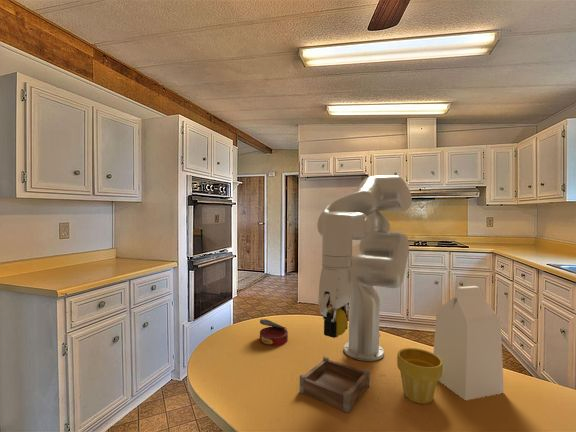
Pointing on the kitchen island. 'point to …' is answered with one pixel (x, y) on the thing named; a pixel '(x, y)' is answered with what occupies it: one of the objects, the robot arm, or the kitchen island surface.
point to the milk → (469, 345)
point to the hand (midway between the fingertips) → (335, 331)
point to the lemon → (340, 321)
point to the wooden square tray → (335, 384)
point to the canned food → (273, 334)
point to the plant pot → (419, 373)
